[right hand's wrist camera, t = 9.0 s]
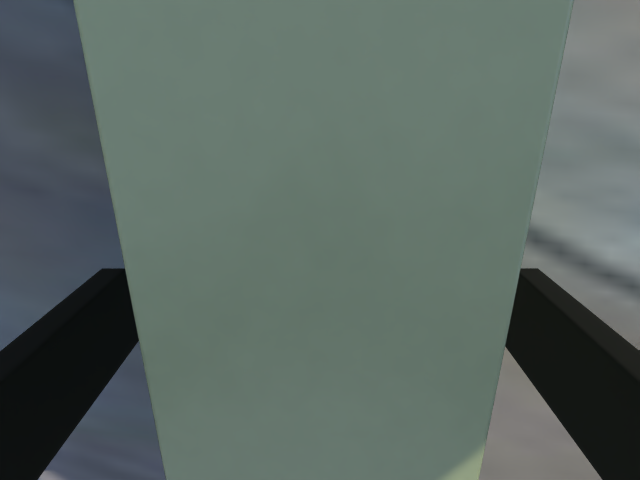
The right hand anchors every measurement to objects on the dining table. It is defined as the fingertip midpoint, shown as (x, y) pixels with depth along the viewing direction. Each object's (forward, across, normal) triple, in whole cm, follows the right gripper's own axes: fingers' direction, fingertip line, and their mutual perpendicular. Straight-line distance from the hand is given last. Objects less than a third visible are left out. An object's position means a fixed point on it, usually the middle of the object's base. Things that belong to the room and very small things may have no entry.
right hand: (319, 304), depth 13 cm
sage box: (+2, 0, -11) cm, 11 cm away
